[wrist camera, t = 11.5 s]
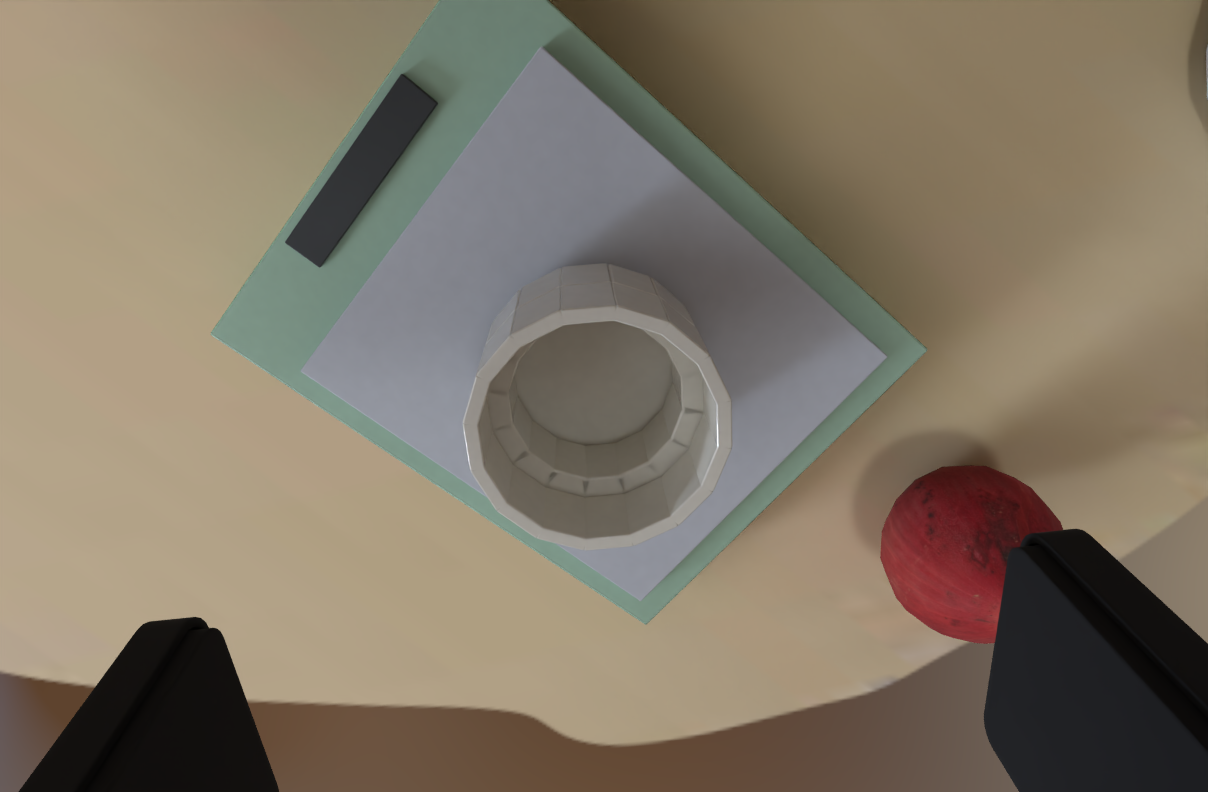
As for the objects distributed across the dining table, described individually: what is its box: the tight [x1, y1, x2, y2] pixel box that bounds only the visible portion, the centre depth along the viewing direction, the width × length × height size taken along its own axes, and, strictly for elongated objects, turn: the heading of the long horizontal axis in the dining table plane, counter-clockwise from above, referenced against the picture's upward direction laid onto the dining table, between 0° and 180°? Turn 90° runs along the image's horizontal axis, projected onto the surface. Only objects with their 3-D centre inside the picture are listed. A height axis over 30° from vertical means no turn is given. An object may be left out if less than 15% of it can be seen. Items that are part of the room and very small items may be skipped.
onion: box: [880, 465, 1063, 644], centre depth 27 cm, size 6×6×8 cm
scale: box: [211, 0, 927, 624], centre depth 26 cm, size 18×14×3 cm
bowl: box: [463, 263, 732, 551], centre depth 22 cm, size 7×7×5 cm
